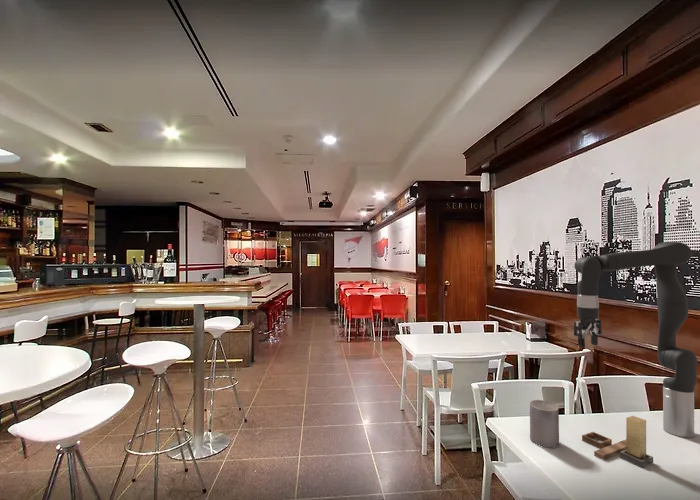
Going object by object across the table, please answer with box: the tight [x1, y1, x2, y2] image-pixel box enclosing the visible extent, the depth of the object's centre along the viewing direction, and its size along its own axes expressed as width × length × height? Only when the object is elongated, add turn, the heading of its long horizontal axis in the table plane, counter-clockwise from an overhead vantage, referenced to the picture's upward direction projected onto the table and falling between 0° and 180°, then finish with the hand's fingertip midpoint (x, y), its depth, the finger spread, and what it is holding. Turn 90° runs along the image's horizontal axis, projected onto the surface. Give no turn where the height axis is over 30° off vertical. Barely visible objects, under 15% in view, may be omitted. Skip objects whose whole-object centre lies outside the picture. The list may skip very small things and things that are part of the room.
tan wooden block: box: [625, 415, 647, 460], centre depth 126 cm, size 4×4×14 cm
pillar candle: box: [529, 399, 560, 449], centre depth 138 cm, size 10×10×15 cm
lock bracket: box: [581, 431, 654, 469], centre depth 132 cm, size 20×20×2 cm
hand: (588, 345), depth 151 cm, fingers open, 8 cm apart
